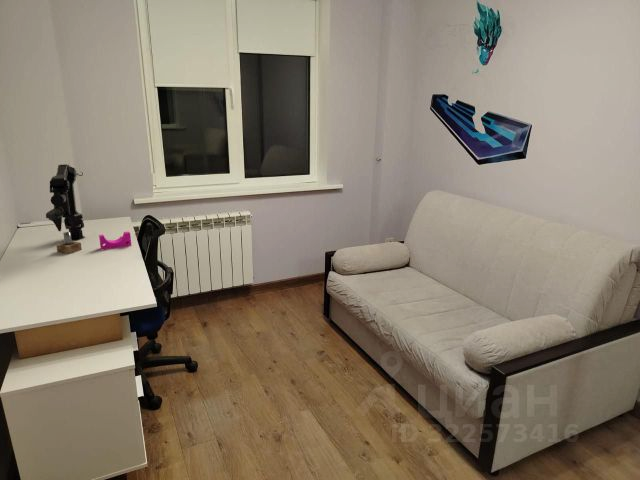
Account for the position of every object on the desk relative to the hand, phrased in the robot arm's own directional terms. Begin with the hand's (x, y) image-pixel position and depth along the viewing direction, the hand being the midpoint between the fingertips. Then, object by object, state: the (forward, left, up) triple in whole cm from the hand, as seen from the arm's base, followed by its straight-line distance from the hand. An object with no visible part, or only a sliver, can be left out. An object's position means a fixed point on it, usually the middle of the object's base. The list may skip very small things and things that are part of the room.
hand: (66, 231), depth 231 cm
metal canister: (0, 0, -11) cm, 11 cm away
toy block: (+16, +15, -11) cm, 25 cm away
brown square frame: (0, 0, -11) cm, 11 cm away
